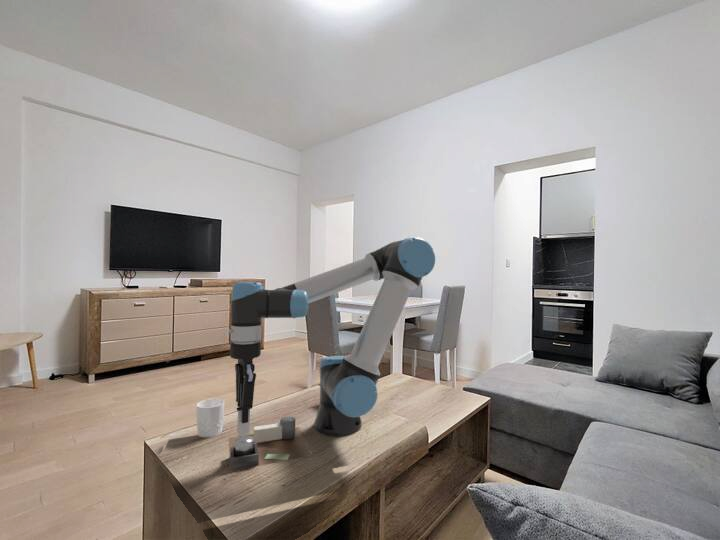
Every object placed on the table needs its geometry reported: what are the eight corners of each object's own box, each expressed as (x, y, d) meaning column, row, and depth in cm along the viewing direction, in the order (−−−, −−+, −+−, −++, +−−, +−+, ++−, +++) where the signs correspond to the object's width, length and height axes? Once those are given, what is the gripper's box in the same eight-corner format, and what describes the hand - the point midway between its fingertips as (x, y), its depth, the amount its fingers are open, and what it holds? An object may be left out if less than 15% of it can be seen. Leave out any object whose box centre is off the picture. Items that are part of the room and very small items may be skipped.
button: (252, 446, 90) (252, 434, 90) (253, 454, 86) (253, 442, 86) (235, 448, 88) (235, 437, 88) (235, 457, 84) (235, 445, 84)
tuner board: (298, 430, 107) (299, 418, 107) (312, 460, 90) (312, 445, 90) (229, 441, 100) (229, 428, 100) (229, 475, 82) (229, 460, 82)
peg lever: (293, 431, 103) (293, 415, 103) (296, 438, 99) (296, 421, 99) (253, 437, 98) (253, 421, 99) (254, 444, 94) (254, 427, 94)
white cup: (213, 443, 99) (214, 408, 99) (189, 440, 100) (190, 406, 100) (229, 431, 106) (229, 399, 107) (206, 429, 108) (207, 397, 108)
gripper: (226, 338, 91) (223, 427, 91) (235, 347, 80) (232, 448, 79) (254, 336, 95) (251, 421, 94) (267, 344, 84) (264, 440, 83)
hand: (243, 433), depth 87 cm, fingers closed
